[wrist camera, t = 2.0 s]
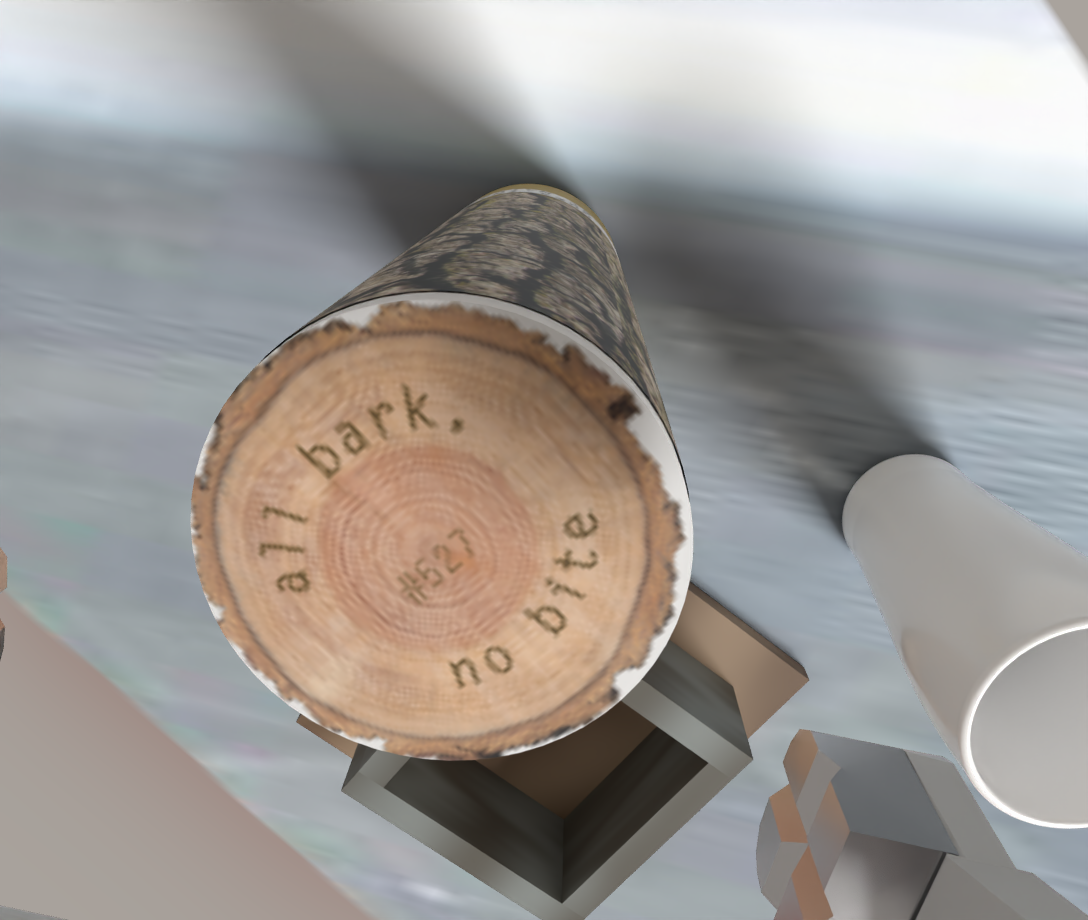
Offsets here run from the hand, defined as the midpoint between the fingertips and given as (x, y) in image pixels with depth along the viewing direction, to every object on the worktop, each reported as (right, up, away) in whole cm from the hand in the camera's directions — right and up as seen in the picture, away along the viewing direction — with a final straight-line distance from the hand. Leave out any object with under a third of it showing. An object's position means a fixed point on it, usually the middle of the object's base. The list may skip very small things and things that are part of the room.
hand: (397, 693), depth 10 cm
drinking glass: (+16, 0, +30) cm, 34 cm away
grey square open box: (+2, -8, +33) cm, 34 cm away
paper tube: (+1, +10, +27) cm, 29 cm away
